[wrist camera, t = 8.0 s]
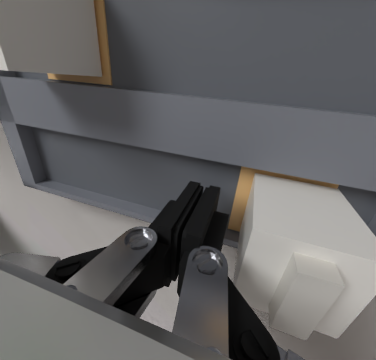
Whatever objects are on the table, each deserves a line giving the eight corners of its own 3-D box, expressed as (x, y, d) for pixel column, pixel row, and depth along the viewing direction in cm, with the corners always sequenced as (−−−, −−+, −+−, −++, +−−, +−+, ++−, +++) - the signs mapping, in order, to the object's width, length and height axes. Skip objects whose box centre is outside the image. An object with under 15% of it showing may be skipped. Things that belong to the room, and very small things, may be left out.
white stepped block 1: (102, 76, 11) (-20, 69, 6) (48, 72, 12) (-93, 61, 7) (91, -19, 9) (-96, -137, 4) (28, -15, 10) (-180, -108, 5)
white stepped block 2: (308, 247, 11) (345, 365, 6) (240, 228, 12) (228, 319, 7) (338, 189, 9) (420, 293, 5) (254, 172, 10) (251, 245, 6)
